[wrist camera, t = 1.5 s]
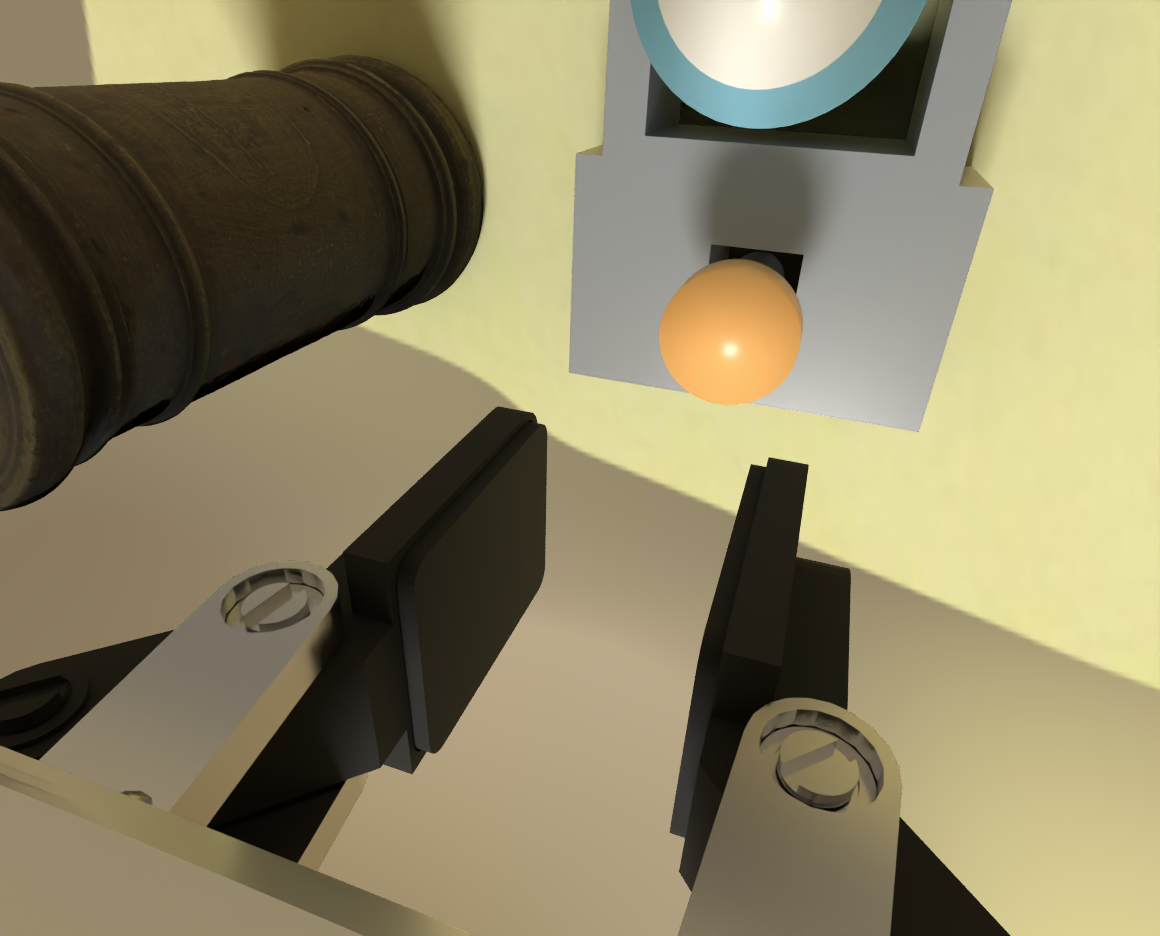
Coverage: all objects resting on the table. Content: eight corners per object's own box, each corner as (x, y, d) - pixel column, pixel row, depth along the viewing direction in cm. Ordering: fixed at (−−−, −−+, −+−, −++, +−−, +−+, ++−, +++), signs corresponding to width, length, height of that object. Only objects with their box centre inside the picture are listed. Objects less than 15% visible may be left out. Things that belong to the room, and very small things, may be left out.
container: (265, 53, 27) (-452, 47, 12) (481, 58, 25) (-90, 56, 10) (306, 289, 32) (-184, 491, 17) (492, 313, 29) (111, 574, 14)
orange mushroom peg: (825, 227, 21) (812, 280, 16) (802, 336, 23) (785, 415, 18) (711, 215, 22) (665, 262, 17) (697, 322, 24) (653, 392, 19)
